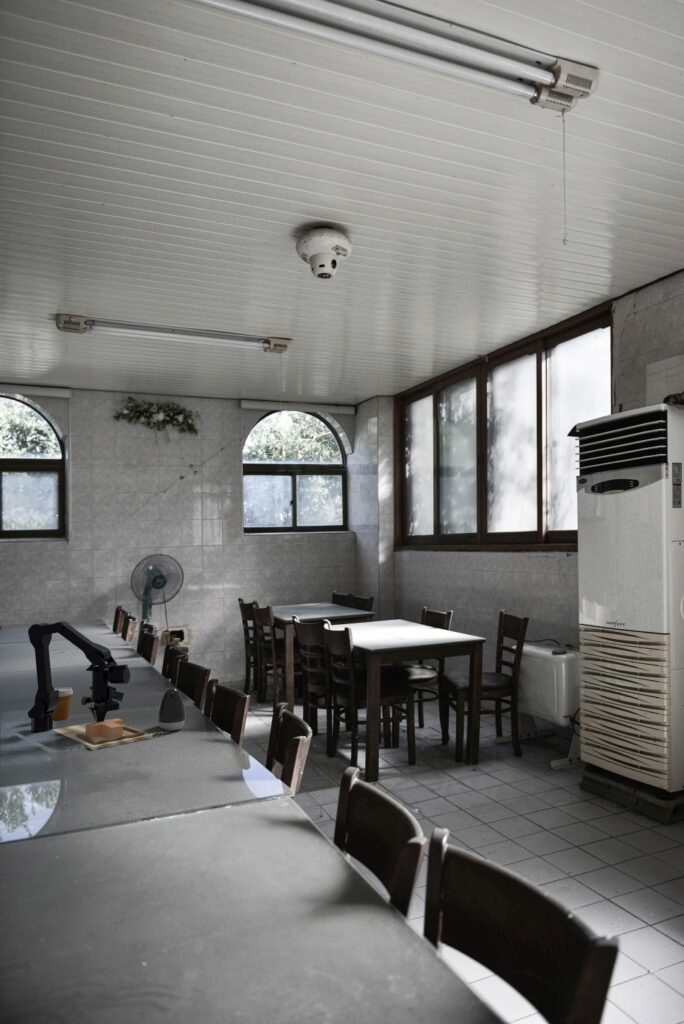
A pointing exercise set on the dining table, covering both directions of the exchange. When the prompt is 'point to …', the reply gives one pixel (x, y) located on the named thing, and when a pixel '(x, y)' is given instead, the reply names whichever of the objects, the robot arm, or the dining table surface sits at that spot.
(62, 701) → the disposable coffee cup
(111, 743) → the board
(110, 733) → the t block
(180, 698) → the grey egg-shaped pod
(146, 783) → the dining table surface
